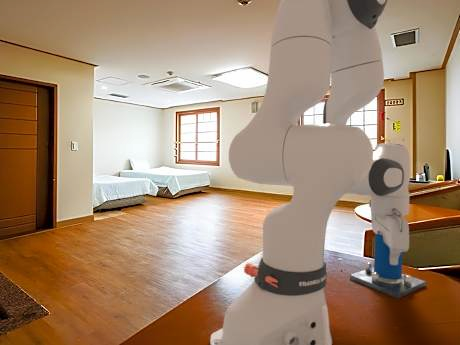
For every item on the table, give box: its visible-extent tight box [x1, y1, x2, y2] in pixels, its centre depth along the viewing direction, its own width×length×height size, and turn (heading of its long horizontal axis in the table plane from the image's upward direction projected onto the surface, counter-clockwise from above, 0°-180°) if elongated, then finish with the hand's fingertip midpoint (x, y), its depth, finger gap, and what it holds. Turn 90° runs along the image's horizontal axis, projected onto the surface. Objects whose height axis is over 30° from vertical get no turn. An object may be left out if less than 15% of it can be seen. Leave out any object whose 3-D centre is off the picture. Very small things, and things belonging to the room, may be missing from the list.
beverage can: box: [373, 231, 403, 281], centre depth 79 cm, size 6×6×12 cm
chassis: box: [349, 261, 427, 299], centre depth 79 cm, size 13×13×4 cm
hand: (387, 257), depth 78 cm, fingers open, 8 cm apart
